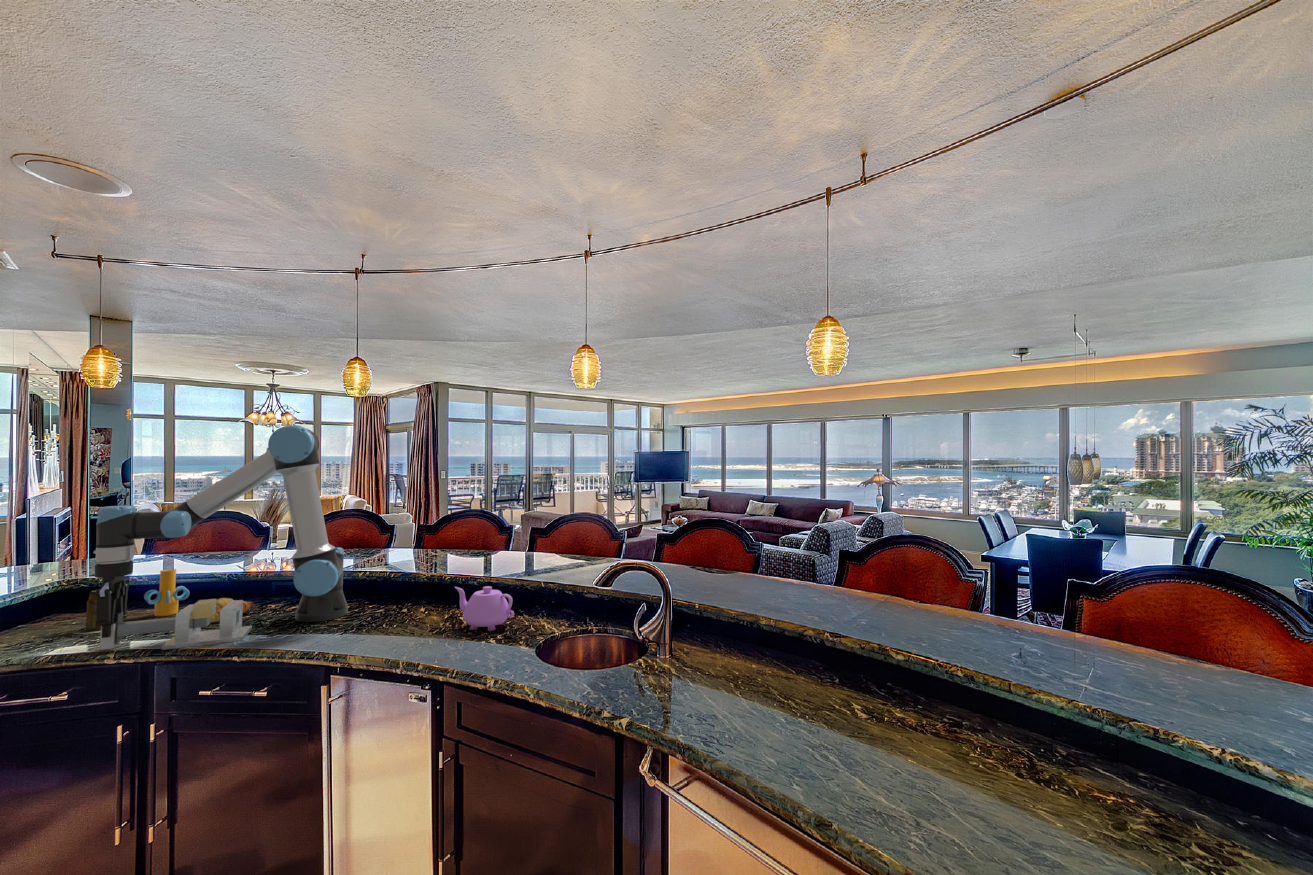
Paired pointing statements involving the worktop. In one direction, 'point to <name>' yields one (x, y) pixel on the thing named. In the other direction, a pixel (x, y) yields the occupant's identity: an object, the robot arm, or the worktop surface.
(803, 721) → the worktop surface
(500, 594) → the teapot
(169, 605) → the cylinder
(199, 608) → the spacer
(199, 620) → the bar
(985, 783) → the worktop surface
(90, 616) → the condiment
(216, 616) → the croissant
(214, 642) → the frame
